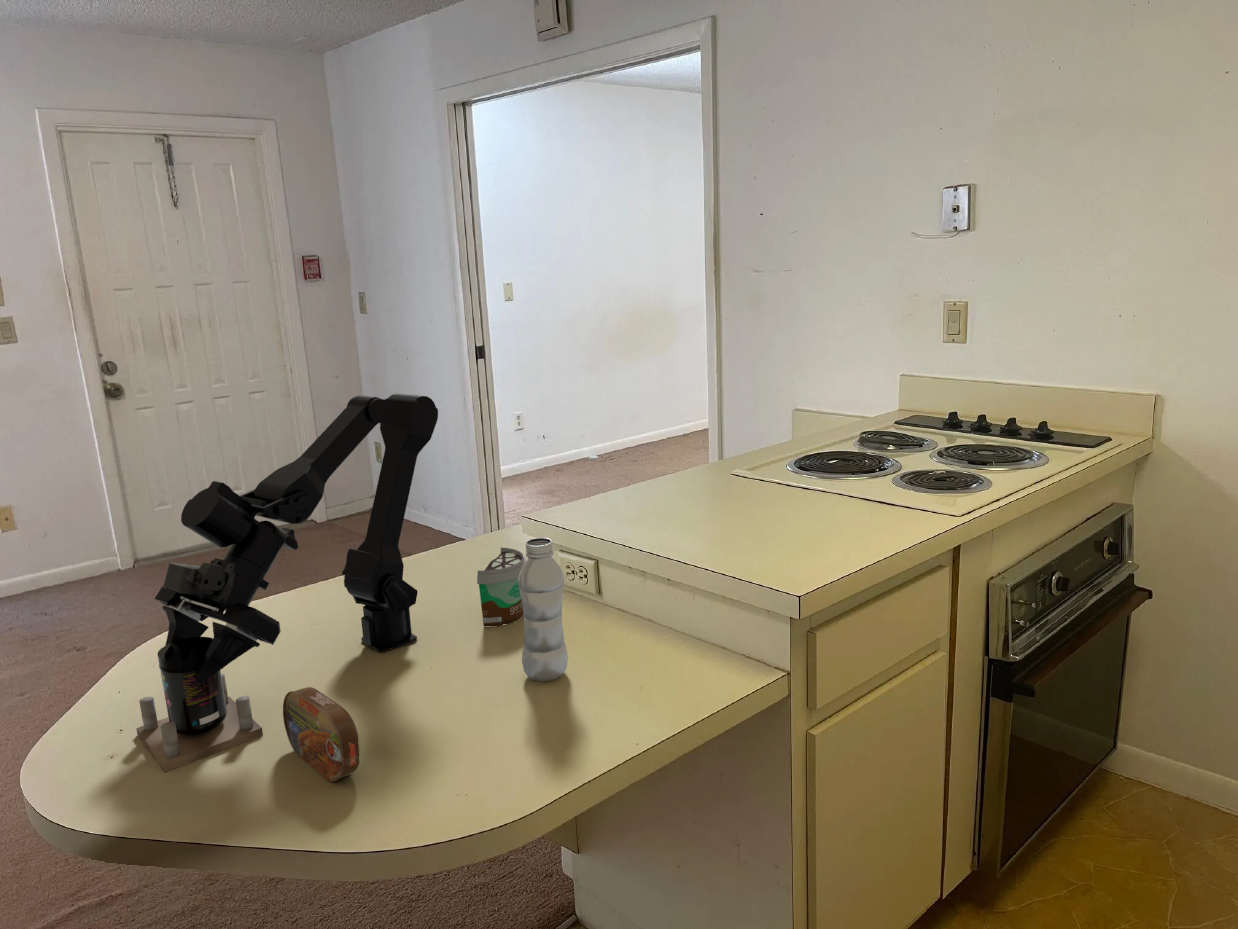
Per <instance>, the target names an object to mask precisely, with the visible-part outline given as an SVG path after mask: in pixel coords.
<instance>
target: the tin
mask: <svg viewBox="0 0 1238 929" xmlns="http://www.w3.org/2000/svg"><path fill="white" fill-rule="evenodd" d="M282 717H283V724H284V729H285V732H286V735H287V738H288V741H289V744H290V747H291V748H292V750H293V751H294V753H295V755H297V756H298V757H299V758H300V759H301V760H302V761H304V762H305V763H306V764H308V766H310V767H311V768H312V769H314V770H315V771H316V772H317V773H318V774H320V775H321V776H322V777H323V778H324V779H326V780H328V782H337V781H339V780H340V779H343V778H345V777H347V776H350V775H351V774H353V773H354V772H356V771H357V770H358V768H359V766H360V763H361V762H360V743H359V740H360V739H359V733H358V730H357V726H356V724H355V722H354V720H353V718H352V716H351V714H350V713H349V712H348V711H347V709H346V708H345V707H343V706H342V705H340V704H338V703H337V702H336V701H334V700H333V699H332V698H331V697H328V696H327V695H325V694H324V693H322V692H321V691H319V689H318V690H317V689H316V688H314V687H311V686H308V687H304V688H301V689H297V690H291V691H288V692H287V693H286V694H285V696H284V698H283V703H282Z"/></svg>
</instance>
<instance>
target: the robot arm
mask: <svg viewBox="0 0 1238 929" xmlns="http://www.w3.org/2000/svg"><path fill="white" fill-rule="evenodd" d="M438 419H439V408H438V407H437V406H436V403H435V401H434V400H433V399H432V398H431V397H429V396H427V395H417V394H416V395H415V394H405V393H393V394H391V395H390V396H388V397H387V398H385V399H383V398H380V397H377V396H369V395H356V396H354V397H352V398H350V399H349V401H348V402H347V405H346V407H345V408H344V409H343V410H342V411H341V413H340V414H338V416H337V417H335V418H334V420H333V421H332V422H331V423H330V424H329V426H327V427H326V429H325V430H323V432H322V433H321V434H319V436H318V437H317V438H316V439H315V440H314V441H313V443H311V445H309V446H308V448H307V449H306V450H305V451H303V453H302V454H301V455H300V456H299V457H297V458H296V459H295V460H294V461H292V462H289V463H288V464H285V465H283V466H281V467H279V468H277V469H275V470H274V471H273V472H271V474H269V475H267V476H266V477H265V478H264V479H262V480H261V481H260V482H259V483H258V484H257V485H256V487H254V488H255V489H252V490H250V491H247V492H246V493H243V494H241V495H238V493H236V492H235V491H233V489H232V487H230V486H229V485H227V484H226V483H225V482H222V481H219V480H218V481H217V480H214V481H213V480H212V482H211V483H210V485H209V486H208V488H204V489H202V490H201V491H200V490H199V492H198V493H196V494H195V495H194V496H193V497H192V498H190V499H189V500H187V502H186V503H185V504H184V507H183V508H182V511H181V514H180V515H181V516H180V519H181V521H180V523H181V524H182V525H183V526H184V527H186V528H188V529H189V530H191V531H192V532H194V533H195V534H197V535H198V536H200V537H202V538H204V539H206V540H207V541H209V542H210V543H211V544H213V545H215V546H217V547H218V548H227V547H229V548H228V550H226V553H225V554H224V556H223V558H222V559H221V558H216V557H215V558H214V559H212V560H211V561H210V562H209V563H208V562H203V563H201V565H193V564H187V563H186V564H184V563H178V562H169V563H168V567H167V569H166V573H165V578H164V581H163V585H162V586H161V588H160V589H159V591H158V592H157V593H156V596H155V597H154V601H157V602H158V603H160V604H162V608H161V609H162V611H164V612H165V614H166V617H167V620H168V630H167V636H166V641H165V644H164V646H166V645H168V644H170V643H172V642H175V641H178V640H181V639H185V638H191V637H203V636H202V635H204V633H205V632H206V631H207V630H208V629H209V626H208V625H206V624H204V623H202V622H203V621H205V620H207V619H208V618H211V619H215V620H217V621H220V622H224V623H225V624H222V623H219V622H215V621H212V623H211V624H212V631H213V637H212V638H213V641H212V643H211V645H210V647H209V649H208V651H207V653H206V655H205V657H204V659H203V661H202V663H201V665H200V667H199V669H198V671H197V674H196V676H195V679H194V680H195V681H196V682H198V683H200V684H202V683H204V682H205V681H207V680H208V679H209V678H211V677H212V676H213V675H215V674H216V673H217V672H218V671H220V670H221V671H222V669H224V668H225V667H226V666H228V665H229V664H231V663H232V662H234V661H235V660H237V659H238V658H239V657H241V656H242V655H244V654H245V653H247V652H248V651H250V650H251V649H253V648H259V647H260V645H261V643H259V642H258V641H260V642H263V643H265V644H269V645H272V646H273V645H275V643H276V641H277V639H278V637H279V635H280V633H281V631H282V630H281V624H280V621H278V620H277V619H275V618H273V617H271V616H269V615H267V614H266V613H264V612H262V611H260V610H259V609H257V608H255V607H253V606H250V603H252V600H253V599H254V597H255V595H256V594H257V591H258V590H259V589H261V590H264V591H266V590H267V588H268V586H269V585H270V582H269V581H266V580H265V578H266V577H267V574H268V572H269V571H270V569H271V567H272V565H273V563H275V561H276V559H277V557H278V555H279V554H280V551H281V550H282V548H285V549H286V548H287V549H290V550H295V551H296V550H298V549H299V545H298V541H297V539H296V536H295V530H294V529H292V528H289V527H288V528H287V527H281V528H280V527H279V526H277V525H276V524H275V523H273V522H272V521H269V520H274V521H276V522H282V523H286V524H290V525H296V524H297V525H298V524H303V523H305V522H307V520H308V519H309V518H310V517H311V516H312V514H314V511H315V510H316V509H317V507H318V505H319V504H320V502H321V501H322V499H323V496H324V493H325V492H324V491H325V488H326V487H325V486H326V484H327V482H328V480H329V479H330V477H331V476H332V475H333V474H334V473H335V472H336V470H337V469H338V468H339V467H340V466H341V465H342V464H343V462H345V461H346V460H347V459H348V457H349V456H350V455H351V454H352V453H353V452H354V450H355V449H356V448H357V447H358V446H359V445H360V444H361V443H362V442H363V440H365V438H366V437H367V436H368V435H369V433H371V431H373V429H374V428H375V427H376V426H377V425H378V424H379V431H380V434H381V437H382V441H383V444H384V453H383V458H382V462H381V467H380V470H379V475H378V480H377V485H376V489H375V494H374V499H373V502H372V508H371V513H370V517H369V521H368V522H369V523H368V525H367V532H366V534H365V538H364V541H363V542H362V543H361V544H360V545H359V547H357V548H356V549H355V548H354V549H353V548H348V550H347V553H346V560H345V564H344V565H345V566H344V568H343V570H342V572H341V575H343V577H344V579H343V586H344V588H346V591H347V592H348V593H349V595H351V596H352V598H353V600H354V601H355V604H357V605H363V606H362V611H363V615H362V617H361V619H360V620H361V629H362V636H361V641H362V642H363V643H365V644H366V645H368V646H369V647H371V648H372V649H374V650H376V651H377V652H378V653H384V652H387V651H389V650H393V649H395V648H398V647H401V646H404V645H406V644H410V643H412V642H415V641H417V640H418V636H417V635H415V634H413V633H412V624H411V623H412V622H411V612H410V608H411V607H412V606H413V605H416V602H417V597H418V589H416V588H414V586H412V585H411V584H409V583H407V582H406V581H405V580H403V578H404V576H403V575H404V562H403V557H402V555H401V551H400V548H399V543H400V538H401V533H402V528H403V524H404V518H405V514H406V510H407V506H408V505H407V504H408V502H409V501H408V500H409V496H410V491H411V487H412V483H413V478H414V472H415V468H416V463H417V460H418V456H419V454H420V453H421V451H422V450H423V449H424V448H425V446H426V445H427V444H428V443H429V442H430V441H431V439H432V437H433V433H434V431H435V428H436V425H437V422H438ZM256 517H261V518H265V519H267V520H260V521H259V520H257V519H256ZM268 519H269V520H268Z"/></svg>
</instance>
